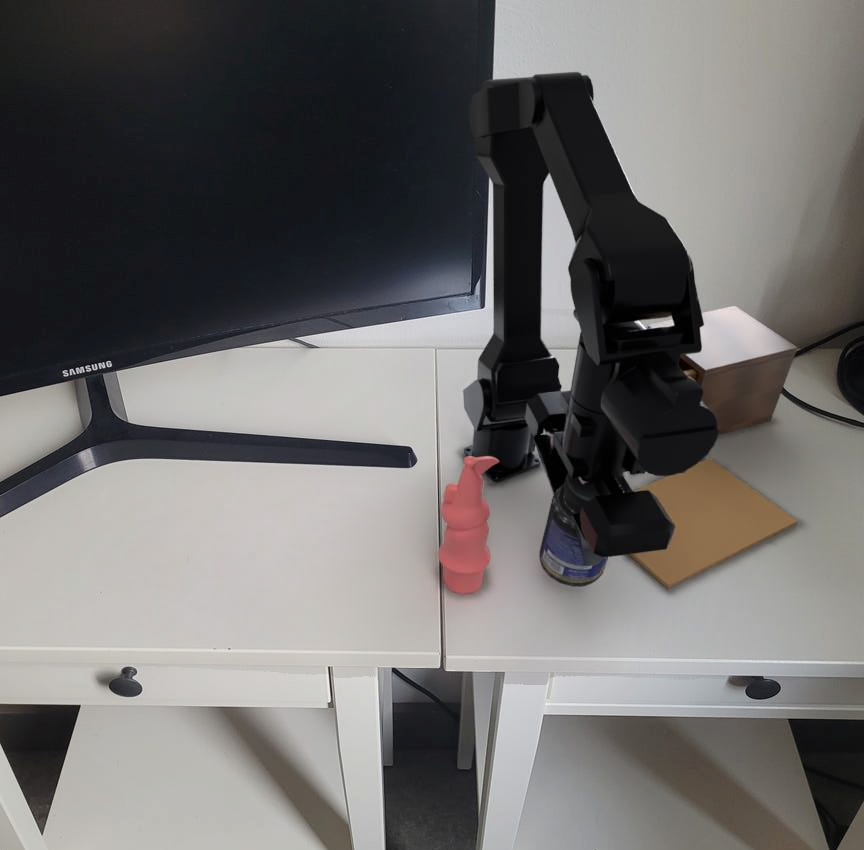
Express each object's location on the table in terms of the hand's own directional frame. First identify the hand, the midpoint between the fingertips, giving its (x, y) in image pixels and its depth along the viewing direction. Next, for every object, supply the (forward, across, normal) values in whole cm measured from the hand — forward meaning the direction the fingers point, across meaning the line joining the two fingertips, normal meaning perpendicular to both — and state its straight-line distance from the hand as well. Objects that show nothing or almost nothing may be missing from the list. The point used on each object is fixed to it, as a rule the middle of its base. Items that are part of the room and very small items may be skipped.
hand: (578, 538), depth 74 cm
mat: (+6, +7, -16) cm, 18 cm away
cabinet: (+7, +25, -26) cm, 37 cm away
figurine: (+7, +3, +10) cm, 12 cm away
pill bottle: (+4, 0, 0) cm, 4 cm away
